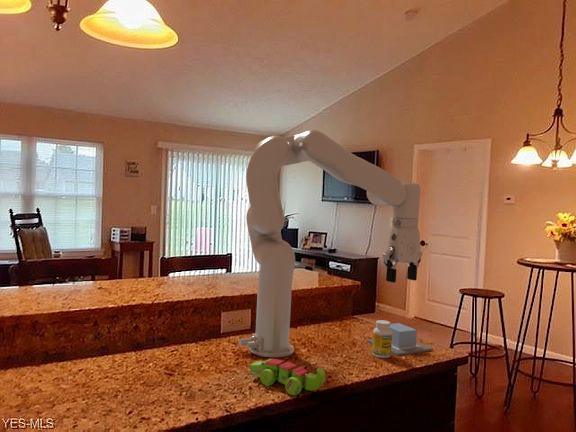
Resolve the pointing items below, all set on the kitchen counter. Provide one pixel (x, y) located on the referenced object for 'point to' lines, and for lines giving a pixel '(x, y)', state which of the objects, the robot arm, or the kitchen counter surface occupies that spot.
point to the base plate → (407, 350)
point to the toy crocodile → (287, 375)
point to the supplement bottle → (382, 339)
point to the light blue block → (403, 336)
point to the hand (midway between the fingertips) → (401, 280)
